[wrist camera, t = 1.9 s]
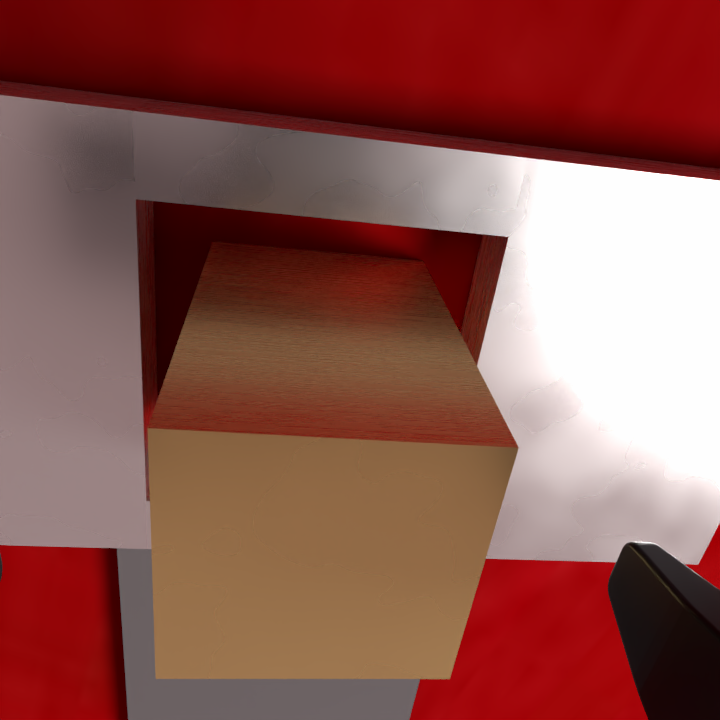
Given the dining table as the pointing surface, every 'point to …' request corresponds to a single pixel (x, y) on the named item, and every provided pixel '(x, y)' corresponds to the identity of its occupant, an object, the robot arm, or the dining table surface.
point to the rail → (381, 206)
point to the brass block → (319, 472)
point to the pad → (235, 696)
